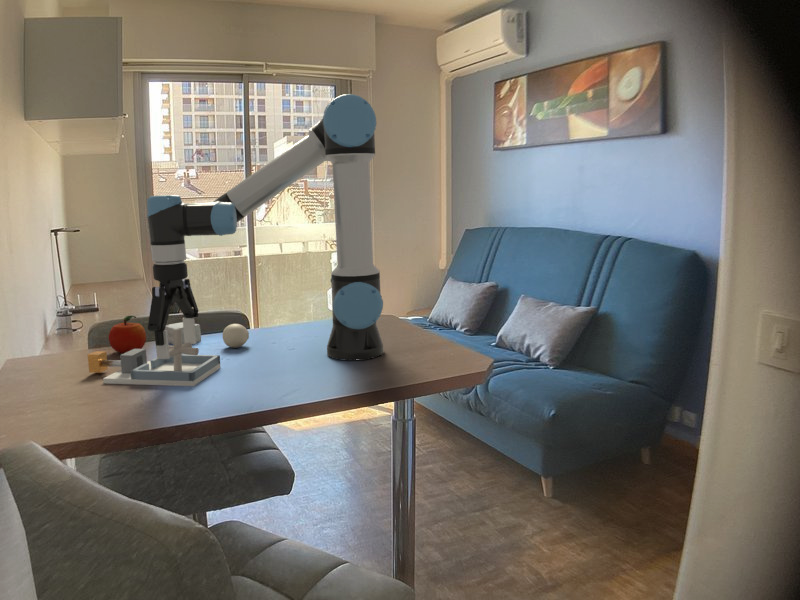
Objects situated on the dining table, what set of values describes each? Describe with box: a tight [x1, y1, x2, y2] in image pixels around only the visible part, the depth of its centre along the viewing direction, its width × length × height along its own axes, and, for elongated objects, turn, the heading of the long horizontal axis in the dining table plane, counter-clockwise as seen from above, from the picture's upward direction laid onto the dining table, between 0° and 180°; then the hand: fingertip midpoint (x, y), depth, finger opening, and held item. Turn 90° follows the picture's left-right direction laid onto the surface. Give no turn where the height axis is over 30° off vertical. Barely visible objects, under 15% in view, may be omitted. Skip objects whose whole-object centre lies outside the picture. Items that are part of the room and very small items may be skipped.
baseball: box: [222, 323, 250, 349], centre depth 178 cm, size 7×7×7 cm
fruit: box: [108, 315, 147, 355], centre depth 174 cm, size 10×10×10 cm
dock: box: [102, 348, 222, 387], centre depth 152 cm, size 22×15×6 cm
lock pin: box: [87, 350, 121, 374], centre depth 153 cm, size 11×3×4 cm, turn 82°
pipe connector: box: [169, 329, 200, 371], centre depth 151 cm, size 10×10×10 cm
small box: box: [165, 321, 202, 345], centre depth 186 cm, size 8×8×5 cm
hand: (177, 350), depth 151 cm, fingers open, 13 cm apart
